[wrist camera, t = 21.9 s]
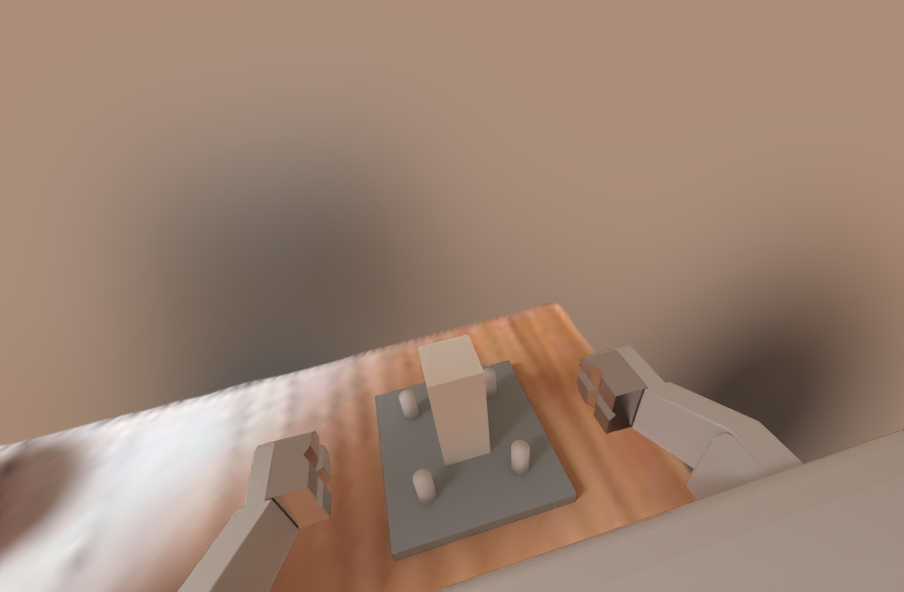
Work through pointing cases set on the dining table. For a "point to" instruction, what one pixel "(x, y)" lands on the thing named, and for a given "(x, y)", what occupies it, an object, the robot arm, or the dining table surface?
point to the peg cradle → (465, 468)
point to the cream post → (457, 397)
